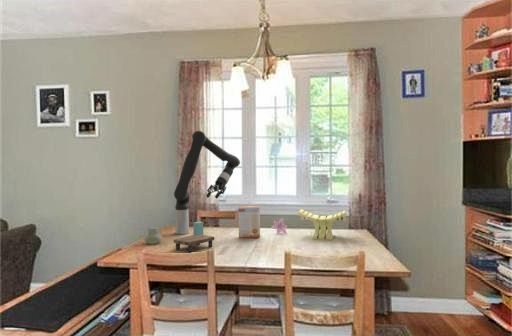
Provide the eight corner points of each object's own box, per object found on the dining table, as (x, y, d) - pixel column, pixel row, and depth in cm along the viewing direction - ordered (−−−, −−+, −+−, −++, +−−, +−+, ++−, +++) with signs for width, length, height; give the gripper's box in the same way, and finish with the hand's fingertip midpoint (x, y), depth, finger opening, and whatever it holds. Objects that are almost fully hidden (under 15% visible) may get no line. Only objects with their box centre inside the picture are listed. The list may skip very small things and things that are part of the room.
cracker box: (260, 236, 276) (259, 205, 275) (259, 238, 270) (259, 207, 269) (239, 236, 277) (239, 205, 277) (238, 238, 271) (238, 207, 271)
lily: (268, 235, 284) (272, 224, 279) (270, 226, 294) (274, 215, 290) (284, 240, 283) (288, 230, 279) (286, 231, 294) (290, 220, 289)
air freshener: (143, 245, 253) (143, 229, 253) (145, 242, 261) (145, 227, 261) (161, 244, 255) (161, 228, 254) (162, 241, 263) (162, 226, 263)
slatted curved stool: (346, 235, 276) (345, 209, 275) (344, 240, 260) (344, 212, 260) (302, 233, 283) (302, 208, 283) (298, 238, 268) (298, 211, 267)
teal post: (193, 240, 265) (193, 222, 264) (198, 239, 268) (198, 221, 268) (198, 241, 262) (197, 223, 261) (203, 240, 265) (203, 222, 265)
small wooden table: (173, 249, 240) (173, 239, 240) (198, 243, 256) (198, 234, 256) (189, 252, 231) (189, 242, 231) (214, 246, 247) (214, 236, 247)
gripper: (212, 176, 289) (201, 193, 281) (227, 176, 280) (216, 194, 272) (218, 183, 294) (207, 200, 285) (232, 183, 285) (221, 201, 276)
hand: (211, 197), depth 279 cm, fingers open, 8 cm apart
